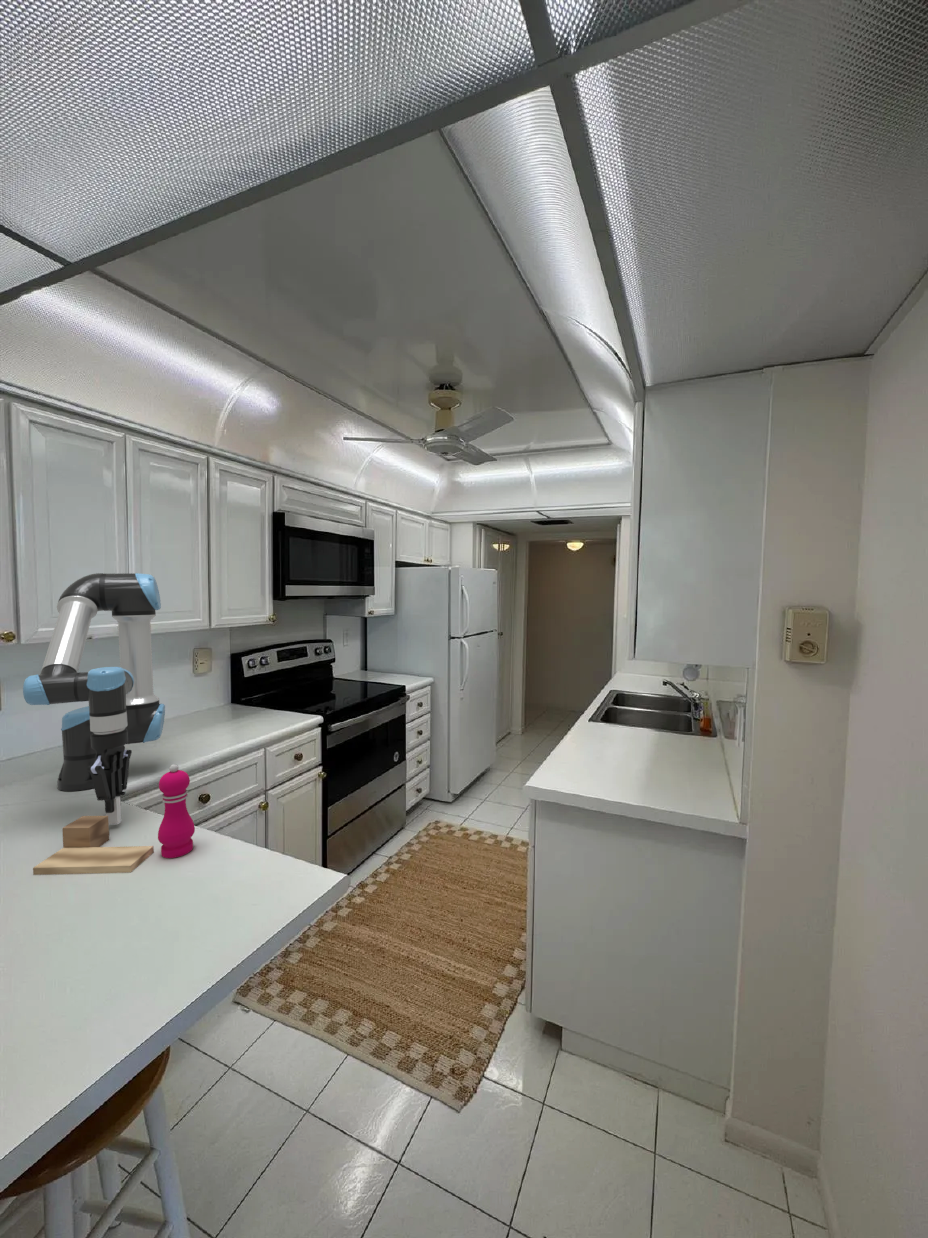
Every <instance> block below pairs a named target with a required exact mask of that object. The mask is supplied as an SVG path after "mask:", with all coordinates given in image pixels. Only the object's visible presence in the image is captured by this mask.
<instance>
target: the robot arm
mask: <svg viewBox="0 0 928 1238" xmlns="http://www.w3.org/2000/svg"><path fill="white" fill-rule="evenodd" d="M56 604H57V605H56V610H57V613H58V616H57V619H56V622H55V626H54V628H53V632H52V635H51V639H50V642H49V644H48V648H47V651H46V654H45V658H44V661H43V663H42V667H41V670H40V673H39V674H34V675H33V674H32V675H28V676H27V677H26V678H25V680H24V682H23V686H22V694H23V699H24V701H25V703H27V704H28V705H29V706H30V705H31V706H45V705H46V706H50V705H56V704H57V705H58V704H67V703H78V702H82V703H83V702H88V705H87V706H84V707H80V708H77V709H74V710H70V711H68V712H66V713H65V714H64V715H63V716H62V717H61V728H60V730H61V734H62V735H61V738H62V741H61V742H62V752H63V753H62V755H63V763H62V766H61V769H60V771H59V775H58V778H57V781H56V782H57V785H56V786H57V789H58V790H59V791H63V792H77V791H85V790H91V789H94V792H95V796H96V800H97V801H104V812H105V816H108V822H109V825H118V824H120V823H122V797H121V796H125V795H126V791H125V790H127V788H128V781H129V779H128V778H129V771H130V770H129V769H130V759H131V756H132V753H133V752H132V750H131V749H126V747H125V745H133V744H141V743H143V744H145V743H148V742H154V741H155V742H156V741H158V740H159V739H160V738H161V736H162V733H163V729H164V724H165V714H166V704H164V703H160V698H159V697H158V696H157V695H156V694H155V693H154V679H153V678H154V677H153V676H154V675H153V674H154V673H153V655H152V653H153V652H152V628H151V621H152V620H153V619H154V617H156V611H159V610H160V609H161V607H162V606H161V605H162V603H161V595H160V590H159V586H158V583H157V581H156V578H155V576H153V575H152V574H149V573H137V572H135V573H133V572H132V573H99V572H98V573H97V572H96V573H92V574H88V575H86V576H83V577H80V578H79V579H77V580H75V581H74V582H72V583H71V584H70V585H68V587H67V588H66V589H65V590H64V591H63V592H62V594H61V595H60V596H59V598H58V601H57V603H56ZM103 611H105V612H106V611H107V612H111V617H112V618H113V619H114V620H116V621H117V625H118V627H117V628H118V646H119V647H118V648H119V650H118V652H119V666H104V667H97V668H92V669H90V670H89V671H83V672H81V671H80V672H79V669H80V665H81V661H82V658H83V655H84V654H83V653H84V649H85V645H86V643H87V637H88V634H89V629H90V625H91V621H92V619H93V618H95V617H96V616H97V615H98V612H103Z"/></svg>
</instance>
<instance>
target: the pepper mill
mask: <svg viewBox="0 0 928 1238" xmlns="http://www.w3.org/2000/svg"><path fill="white" fill-rule="evenodd" d="M168 769H169V770H168V772H166V773H164V774H163V775H162V776H161V777H160V779H159V782H158V788H159V791H160V792H161V793H162V795H161V798H162V799H161V801H162V803H164V814H163V818H162V820H161V823H160V824H159V827H158V832H157V840H158V841H159V843H160V844H161V847H160V856H161V857H162V858H164V859H174V858H180V857H182V856H185V855H187V854H188V853H190V852H191V851H192V850H193V849H194V840H193V839H192V837H193V836H194V835H195V831H196V828H195V823H194V820H193V819H192V817H191V815H190V813H189V812H188V808H187V798H188V796H189V795H188V793H189V792H188V790H187V788H189V786H190V783H191V780H190V779H191V778H190V776H189V774H188V773H187V772H186V771H184V770H181V769H179V766H178V765H177V764H171V765H170V766H169V768H168Z"/></svg>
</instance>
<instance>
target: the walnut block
mask: <svg viewBox="0 0 928 1238" xmlns="http://www.w3.org/2000/svg"><path fill="white" fill-rule="evenodd" d="M61 829H62V830H61V831H62V845H63V847H62V848H82V847H103V845H104V844H106V843H108V842H109V841H110V824H109V822H108V816H106V815H82V816H80V817H79V818H77V819H75V820H74V821H72V822H70V823H69V824H67V825H65V826H63V827H62V828H61Z"/></svg>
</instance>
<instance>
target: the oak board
mask: <svg viewBox="0 0 928 1238" xmlns="http://www.w3.org/2000/svg"><path fill="white" fill-rule="evenodd" d="M154 848H155V847H154V845H139V846H138V845H137V846H133V845H132V846H100V847H82V848H63V847H62V848H60V849H59V850H58V851H56V852H55V853H53V854H51V855H50V856H49V857H47V858H46V859H44V860H42V861H41V862H39V863H38V864H36V865H35V866H33V867H32V874H33V876H34V875H35V876H36V875H39V876H41V875H42V876H43V875H73V874H74V875H79V874H118V873H119V874H123V873H132V872H133V871H135V869H136V868H138V867H139V866H140V865H141V864H142V863H143V862H145V861H146V860H147V859H148V858H149V857H150V856H151V855H153V854H154V850H155V849H154Z"/></svg>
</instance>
